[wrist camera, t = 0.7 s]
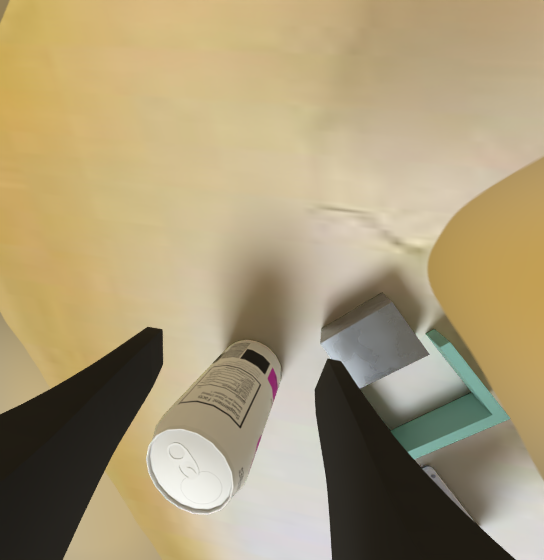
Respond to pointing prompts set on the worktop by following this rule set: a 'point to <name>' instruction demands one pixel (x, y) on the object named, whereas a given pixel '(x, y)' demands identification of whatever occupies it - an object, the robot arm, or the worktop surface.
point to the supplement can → (215, 429)
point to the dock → (451, 410)
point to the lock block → (372, 341)
